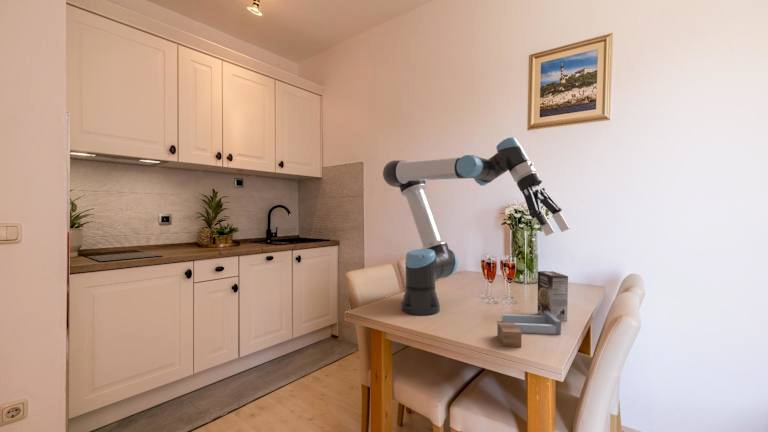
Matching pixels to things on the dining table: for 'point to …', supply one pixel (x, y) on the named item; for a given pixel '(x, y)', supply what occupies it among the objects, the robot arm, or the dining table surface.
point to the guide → (535, 323)
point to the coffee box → (553, 294)
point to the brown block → (509, 334)
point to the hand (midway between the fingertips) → (558, 232)
